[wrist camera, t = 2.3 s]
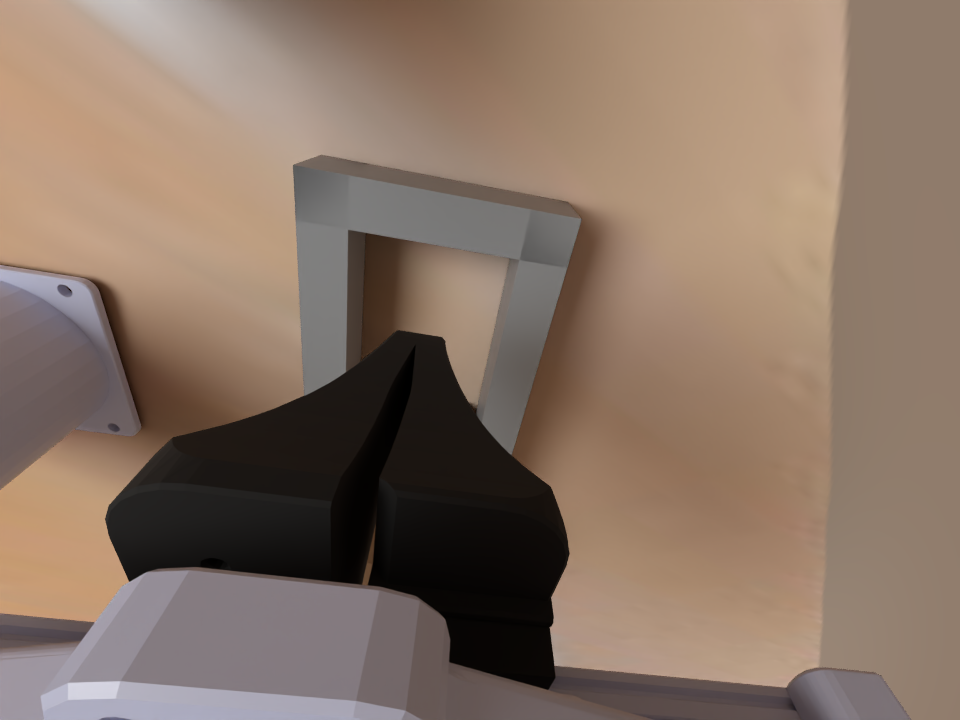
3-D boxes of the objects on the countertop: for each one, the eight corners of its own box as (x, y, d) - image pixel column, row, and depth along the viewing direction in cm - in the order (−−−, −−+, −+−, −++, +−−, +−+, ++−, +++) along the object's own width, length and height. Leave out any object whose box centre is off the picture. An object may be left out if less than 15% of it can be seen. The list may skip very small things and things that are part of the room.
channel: (327, 585, 28) (315, 625, 26) (321, 154, 14) (293, 164, 12) (458, 598, 29) (457, 638, 27) (567, 202, 15) (581, 219, 13)
